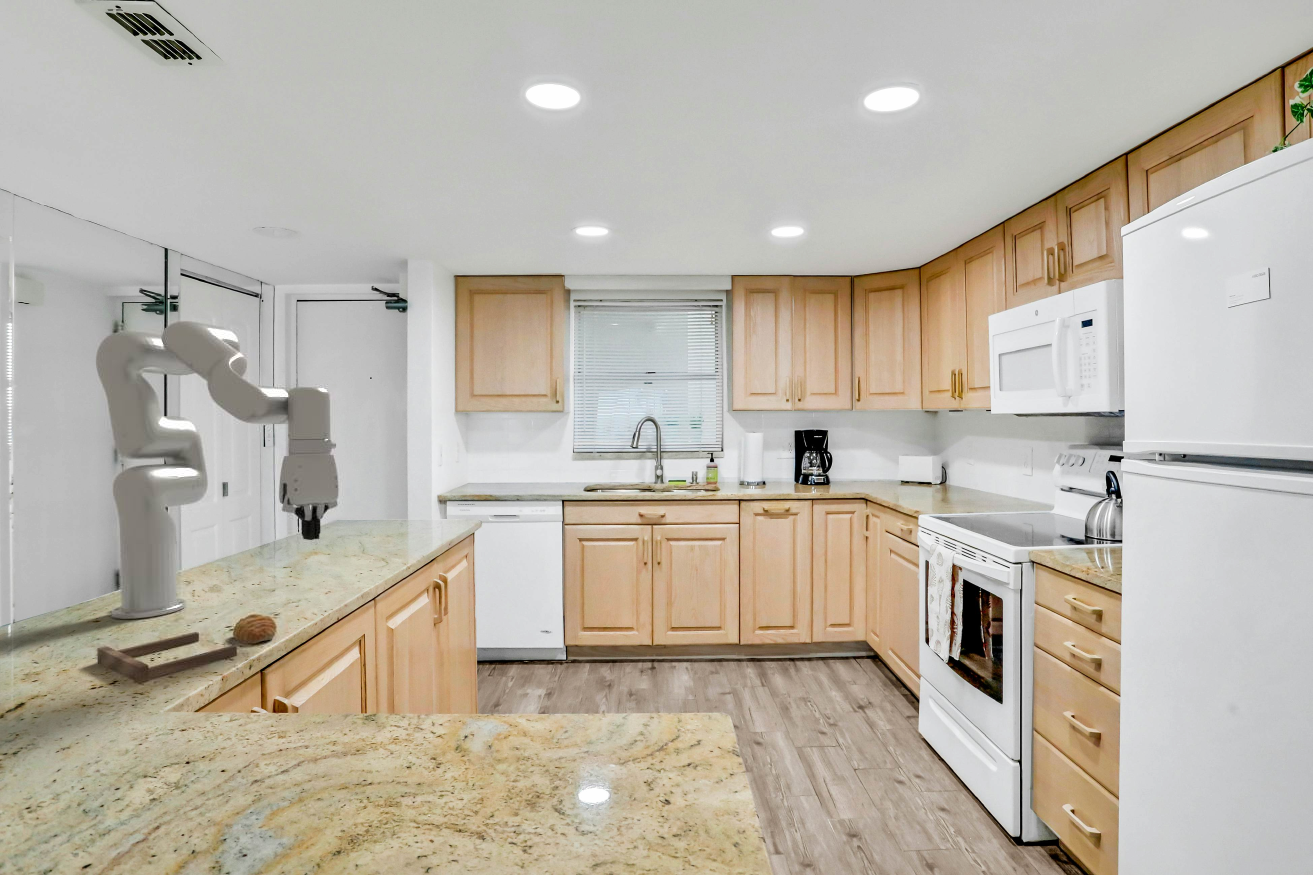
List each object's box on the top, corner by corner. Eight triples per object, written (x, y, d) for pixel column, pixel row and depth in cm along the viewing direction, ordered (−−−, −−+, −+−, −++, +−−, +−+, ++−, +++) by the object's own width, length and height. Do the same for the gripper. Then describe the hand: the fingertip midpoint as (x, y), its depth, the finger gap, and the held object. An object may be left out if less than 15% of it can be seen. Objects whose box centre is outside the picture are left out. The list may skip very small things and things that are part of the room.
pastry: (284, 639, 120) (284, 619, 120) (243, 649, 115) (242, 628, 115) (269, 629, 126) (269, 609, 126) (229, 637, 122) (229, 617, 122)
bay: (97, 662, 108) (97, 647, 108) (194, 639, 120) (193, 625, 120) (139, 683, 99) (139, 667, 99) (239, 655, 111) (238, 641, 111)
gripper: (334, 447, 138) (335, 532, 138) (261, 449, 125) (262, 543, 126) (355, 447, 134) (356, 535, 134) (281, 449, 121) (283, 546, 122)
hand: (311, 538), depth 130 cm, fingers closed
